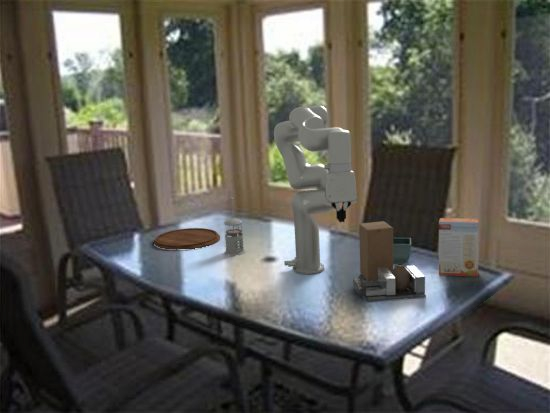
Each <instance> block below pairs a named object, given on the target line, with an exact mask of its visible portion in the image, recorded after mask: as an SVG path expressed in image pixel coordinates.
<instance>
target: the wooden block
mask: <svg viewBox="0 0 550 413" xmlns="http://www.w3.org/2000/svg"><path fill="white" fill-rule="evenodd" d="M358 226H359V228H358V231H359V233H358V234H359V271H360V275H362V277H363V278H364V279H365V281H371V280H378V267H387V269H388V270H389V271H390V272H392V271H393V269H394V263H393V238H394V227H392V226H391V225H390V224H389V223H387V222H385V221H384V220H382V221H374V222H362V223H359V224H358Z"/></svg>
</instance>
